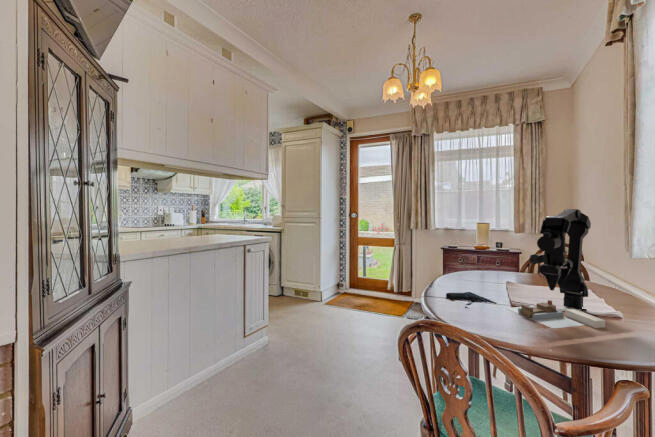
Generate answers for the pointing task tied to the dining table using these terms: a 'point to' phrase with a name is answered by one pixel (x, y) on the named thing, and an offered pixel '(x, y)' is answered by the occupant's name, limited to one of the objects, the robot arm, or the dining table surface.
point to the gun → (468, 297)
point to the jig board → (550, 318)
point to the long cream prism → (585, 318)
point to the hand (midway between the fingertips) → (555, 287)
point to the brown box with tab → (537, 309)
